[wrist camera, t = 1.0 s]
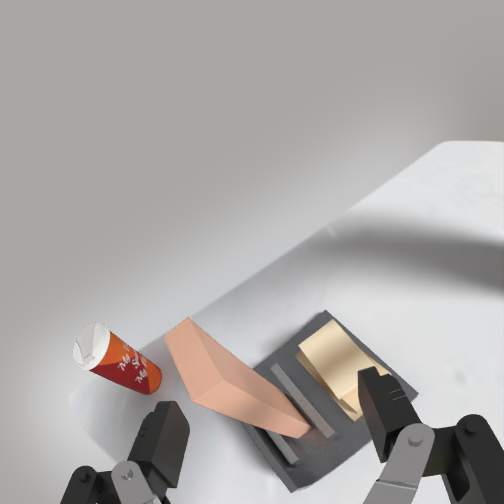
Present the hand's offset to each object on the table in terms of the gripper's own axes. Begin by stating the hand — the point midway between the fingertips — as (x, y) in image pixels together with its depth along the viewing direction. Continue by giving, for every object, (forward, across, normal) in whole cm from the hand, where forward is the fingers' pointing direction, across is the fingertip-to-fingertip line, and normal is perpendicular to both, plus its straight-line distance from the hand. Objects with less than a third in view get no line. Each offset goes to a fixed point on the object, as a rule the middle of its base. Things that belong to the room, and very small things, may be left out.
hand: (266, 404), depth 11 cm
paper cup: (+26, +23, +18) cm, 39 cm away
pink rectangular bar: (+14, 0, +17) cm, 22 cm away
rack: (+16, -3, +17) cm, 23 cm away
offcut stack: (+16, -6, +14) cm, 23 cm away
